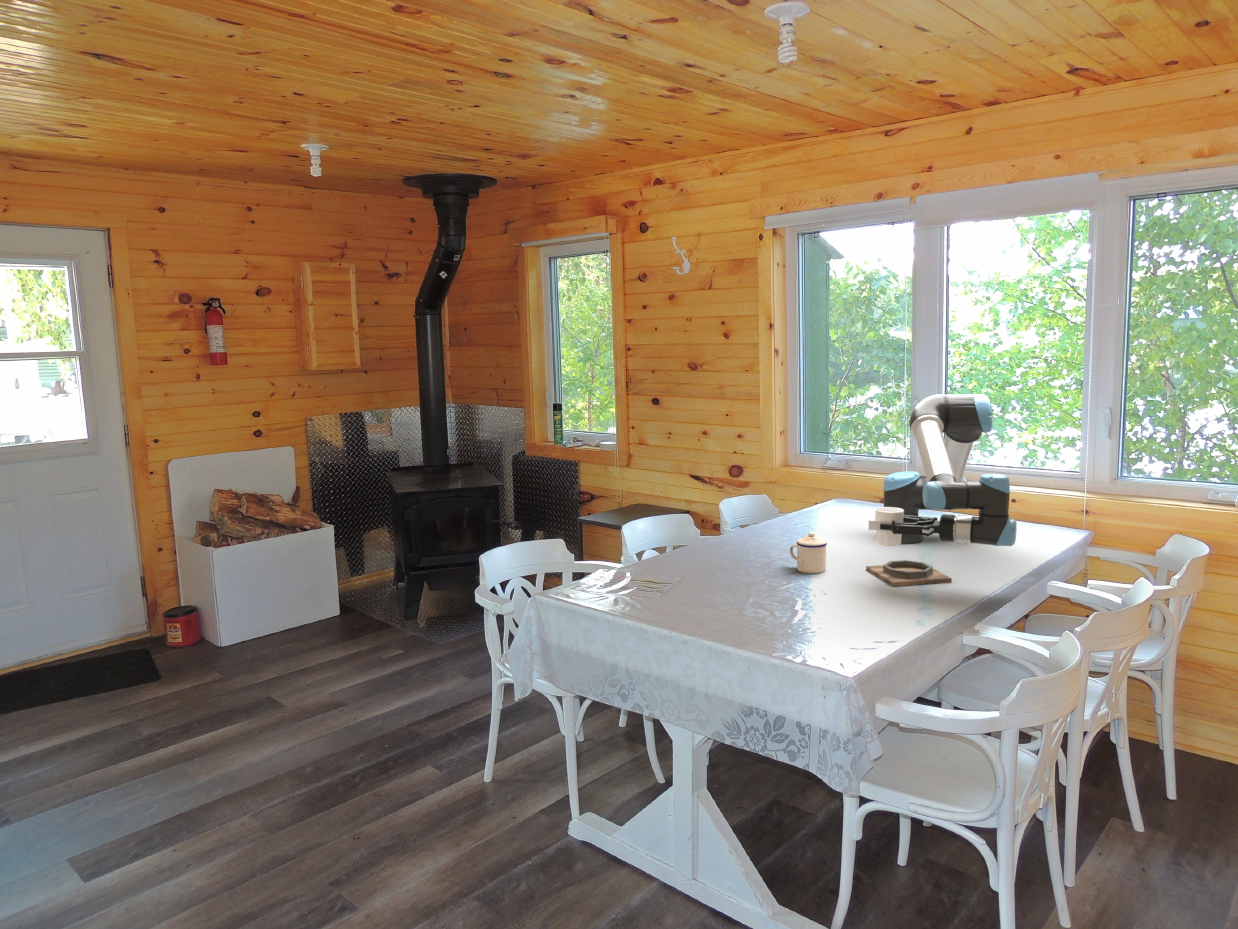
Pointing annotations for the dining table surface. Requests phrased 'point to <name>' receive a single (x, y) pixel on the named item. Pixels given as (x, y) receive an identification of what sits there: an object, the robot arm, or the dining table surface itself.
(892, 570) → the ring holder
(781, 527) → the dining table surface
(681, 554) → the dining table surface
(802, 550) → the teacup with lid
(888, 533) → the white cup
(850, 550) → the dining table surface
